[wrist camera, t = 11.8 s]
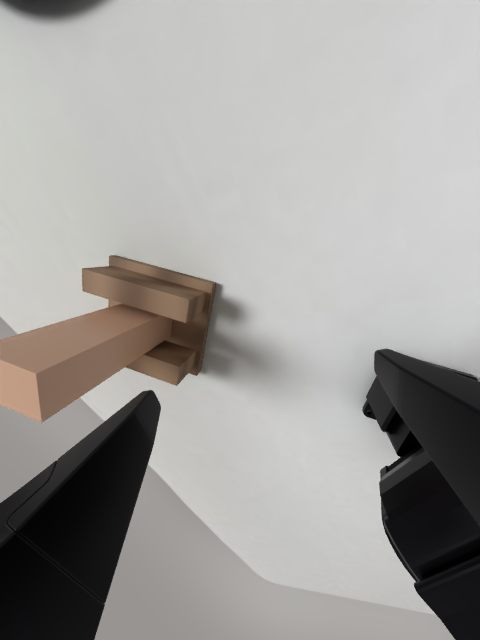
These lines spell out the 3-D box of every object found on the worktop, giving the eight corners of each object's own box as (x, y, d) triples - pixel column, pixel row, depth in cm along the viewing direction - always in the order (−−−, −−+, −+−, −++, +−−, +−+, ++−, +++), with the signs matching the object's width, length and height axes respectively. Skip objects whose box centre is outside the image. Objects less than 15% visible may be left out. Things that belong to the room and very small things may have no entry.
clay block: (173, 309, 22) (35, 373, 10) (170, 336, 23) (41, 422, 12) (138, 298, 23) (-29, 348, 11) (136, 325, 24) (-18, 396, 12)
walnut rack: (216, 282, 21) (196, 290, 17) (199, 372, 24) (180, 395, 20) (115, 255, 23) (76, 256, 19) (113, 342, 26) (80, 358, 22)
